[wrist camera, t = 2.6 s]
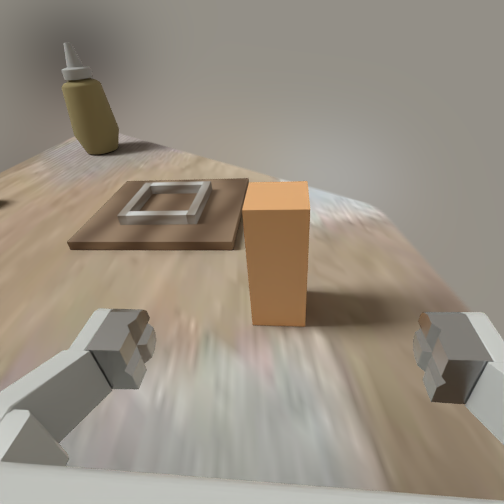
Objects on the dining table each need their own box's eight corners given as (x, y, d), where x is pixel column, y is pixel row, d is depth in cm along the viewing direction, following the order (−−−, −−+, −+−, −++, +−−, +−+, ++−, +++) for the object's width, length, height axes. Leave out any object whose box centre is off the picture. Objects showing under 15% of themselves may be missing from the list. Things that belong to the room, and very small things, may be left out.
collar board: (70, 249, 36) (62, 232, 34) (129, 187, 49) (124, 173, 47) (232, 249, 34) (230, 231, 32) (248, 184, 46) (247, 170, 45)
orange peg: (252, 325, 25) (242, 210, 19) (257, 289, 28) (248, 182, 23) (305, 326, 25) (310, 209, 19) (303, 290, 28) (307, 181, 22)
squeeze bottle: (103, 159, 60) (64, 43, 50) (72, 155, 63) (29, 46, 53) (132, 145, 66) (103, 39, 56) (103, 142, 69) (70, 42, 59)
